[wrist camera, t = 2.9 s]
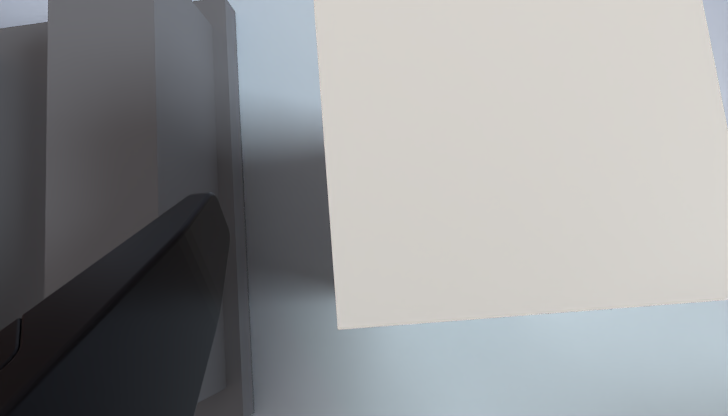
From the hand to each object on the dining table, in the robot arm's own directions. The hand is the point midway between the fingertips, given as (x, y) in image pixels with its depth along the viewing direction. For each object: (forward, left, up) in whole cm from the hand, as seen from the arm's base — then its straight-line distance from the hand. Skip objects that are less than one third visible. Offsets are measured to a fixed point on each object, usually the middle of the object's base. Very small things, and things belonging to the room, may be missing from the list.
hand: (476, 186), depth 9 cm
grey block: (0, +1, -8) cm, 8 cm away
